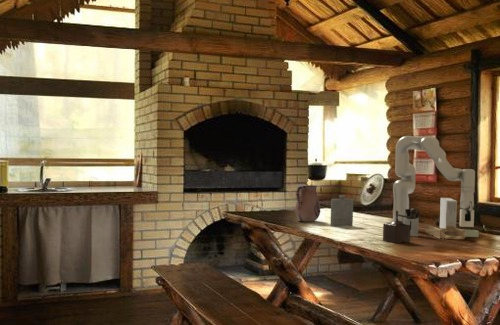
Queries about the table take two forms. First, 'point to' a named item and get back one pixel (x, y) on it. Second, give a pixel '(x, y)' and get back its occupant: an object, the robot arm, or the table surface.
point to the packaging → (448, 212)
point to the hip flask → (341, 212)
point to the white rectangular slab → (462, 219)
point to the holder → (471, 233)
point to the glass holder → (412, 222)
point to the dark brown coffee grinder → (398, 229)
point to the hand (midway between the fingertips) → (466, 220)
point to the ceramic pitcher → (307, 203)
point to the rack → (439, 231)
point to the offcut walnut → (447, 232)
